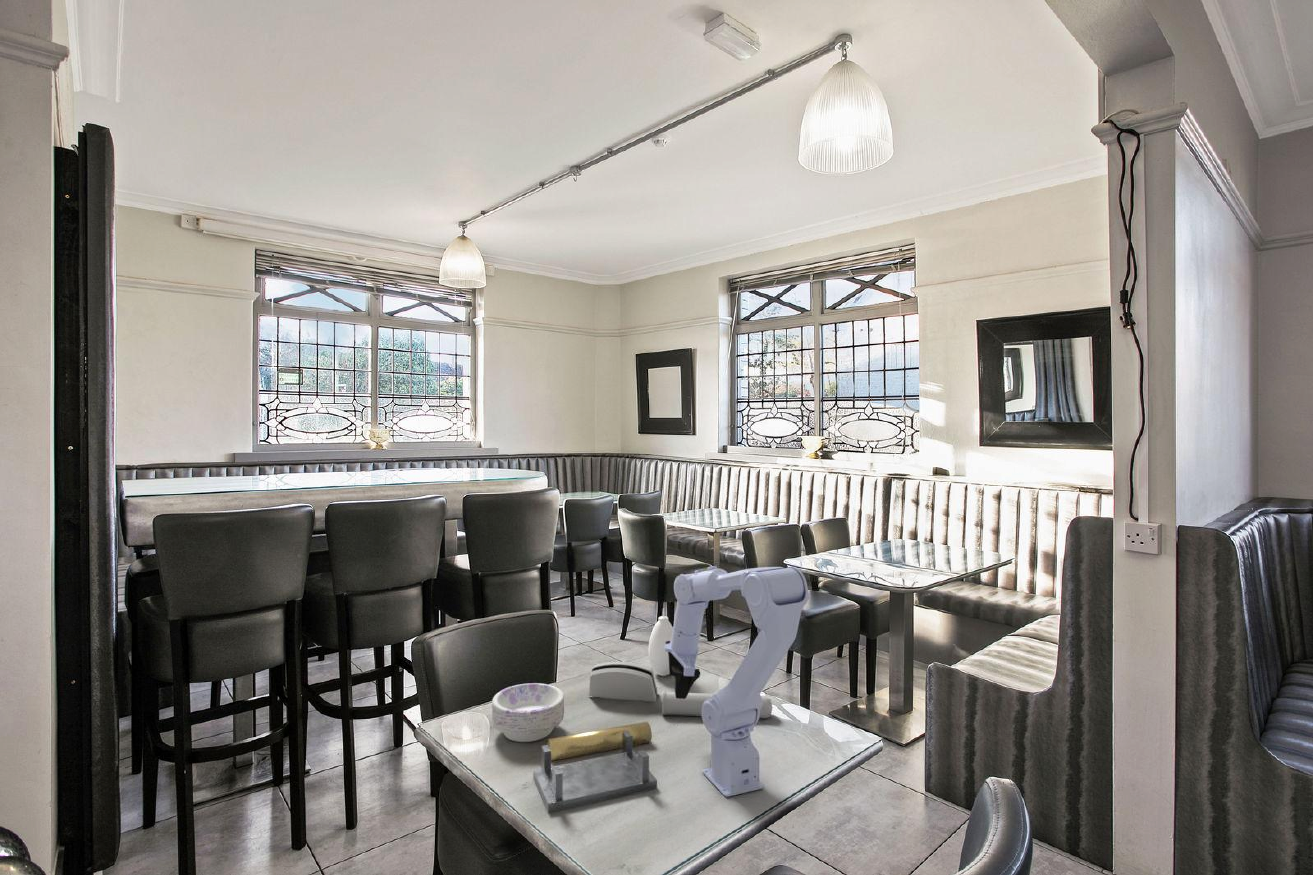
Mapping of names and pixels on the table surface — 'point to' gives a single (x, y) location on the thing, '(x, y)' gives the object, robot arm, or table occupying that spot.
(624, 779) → the corner post stand
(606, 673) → the white rounded block
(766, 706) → the tube
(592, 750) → the brass pin
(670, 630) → the white air blower bulb
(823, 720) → the table surface
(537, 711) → the paper bowls
